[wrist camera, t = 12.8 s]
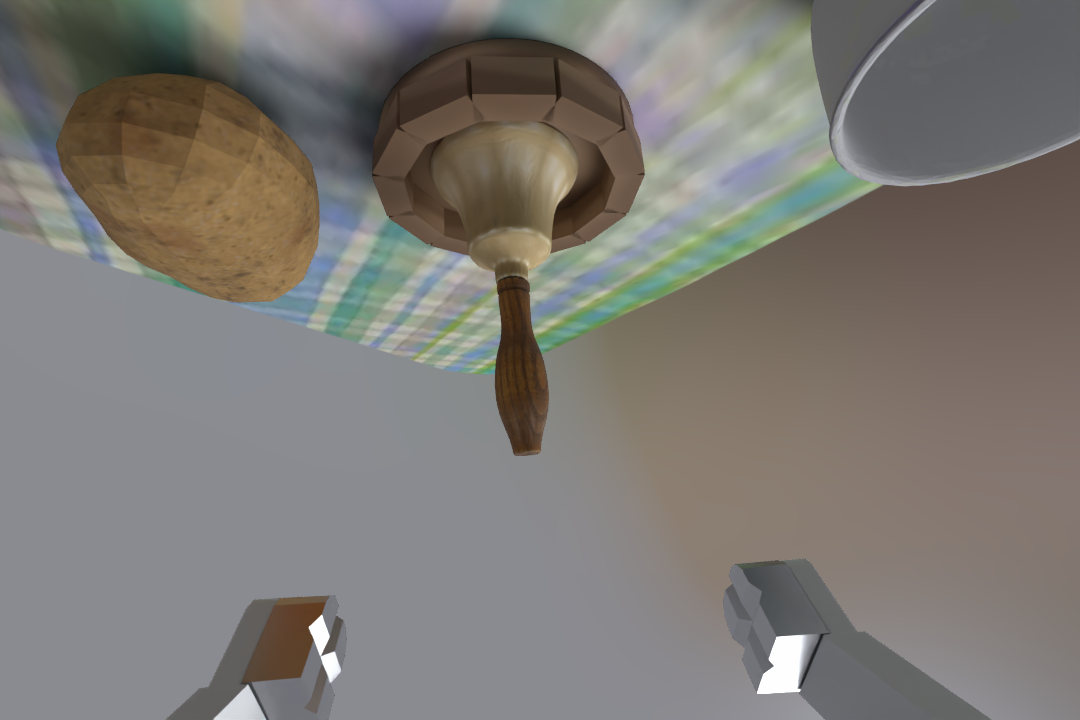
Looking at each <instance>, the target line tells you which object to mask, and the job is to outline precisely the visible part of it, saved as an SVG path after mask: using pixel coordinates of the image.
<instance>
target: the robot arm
mask: <svg viewBox="0 0 1080 720" xmlns="http://www.w3.org/2000/svg"><path fill="white" fill-rule="evenodd" d="M729 577H730V579H731V582H732V585H731V586H730V587H728V588H727V589H726V590H725V594H724V599H723V605H724V614H725V618H726V622H727V625H728V628H729V630H730V633H731V635H732V637H733V639H735V640H736V641H737V642H738V643H739V644H741V645H742V646H743V647H744V648H745V649H744V653H743V657H742V660H743V663H744V665H745V668H746V670H747V672H748V674H749V677H750V679H751V681H752V683H753V685H754V688H755V690H756V693H757V694H761V693H777V692H792V691H800V692H799V694H800V695H801V696H802V697H803V698H804V699H805V700H806V701H807V702H808V703H809V704H810V705H811V706H812V707H813V708H814V709H815V710H816V711H817V712H818V713H819V714H820V715H821V716H822V717H823V718H824V719H825V720H991V719H990V718H988V717H987V716H986V715H984V714H982V713H981V712H980V711H978V710H977V709H976V708H974V707H973V706H971V705H970V704H968V703H967V702H965V701H964V700H963V699H961V698H960V697H958V696H957V695H955V694H954V693H953V692H951V691H950V690H948V689H947V688H945V687H944V686H942V685H941V684H939V683H938V682H937V681H935V680H934V679H932V678H931V677H930V676H928V675H927V674H925V673H924V672H922V671H921V670H919V669H918V668H917V667H915V666H914V665H912V664H911V663H909V662H908V661H907V660H905V659H904V658H902V657H901V656H899V655H898V654H896V653H895V652H894V651H892V650H891V649H889V648H888V647H886V646H885V645H883V644H882V643H881V642H879V641H878V640H876V639H875V638H873V637H872V636H870V635H869V634H868V633H866V632H857V630H856V629H855V627H854V626H853V624H852V623H851V622H850V620H849V618H848V617H847V616H846V614H845V613H844V611H843V610H842V608H841V607H840V605H839V604H838V602H837V601H836V599H835V598H834V596H833V595H832V593H831V592H830V590H829V589H828V587H827V586H826V584H825V583H824V582H823V580H822V579H821V577H820V576H819V574H818V573H817V571H816V570H815V568H814V567H813V565H812V564H811V563H810V562H809V561H808V560H806V559H795V560H785V561H779V560H775V561H764V562H753V563H743V564H735V565H733V566H732V567H731V570H730V574H729ZM338 607H339V605H338V602H337V600H336V597H335V595H331V596H330V595H329V596H312V597H311V596H310V597H292V598H273V599H259V600H253V601H252V603H251V604H250V605H249V606H248V607H247V608H246V610H245V612H244V614H243V616H242V618H241V620H240V622H239V624H238V626H237V628H236V631H235V633H234V635H233V637H232V639H231V641H230V643H229V645H228V647H227V649H226V651H225V653H224V655H223V658H222V660H221V662H220V664H219V666H218V668H217V670H216V672H215V674H214V676H213V678H212V680H211V682H210V685H209V687H205V688H199V689H198V690H197V691H196V692H195V693H194V694H193V695H192V696H191V697H190V698H189V699H187V700H186V701H185V702H184V703H183V704H182V705H181V706H180V707H179V708H178V709H177V710H176V711H174V712H173V713H172V714H171V715H170V716H169V717H168V718H167V719H166V720H328V718H329V715H330V711H331V707H332V704H333V700H334V696H335V695H334V692H333V689H332V686H331V682H332V681H333V680H334V678H335V677H336V676H337V675H338V674H339V673H340V672H341V670H342V666H343V661H344V657H345V650H346V640H347V639H346V628H345V624H344V621H343V620H342V619H341V618H339V617H338V616H336V613H337V610H338Z"/></svg>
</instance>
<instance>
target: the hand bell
mask: <svg viewBox="0 0 1080 720" xmlns="http://www.w3.org/2000/svg"><path fill="white" fill-rule="evenodd" d="M578 169H579V163H578V156H577V153H576V150H575V148H574V147H573V145H572V143H571V142H570V140H569V139H568V138H567V137H566V136H565V135H563V134H562V133H561V132H560V131H558V130H557V129H555V128H553V127H551V126H549V125H548V124H546V123H543V122H531V121H480V122H477V123H475V124H473V125H470V126H468V127H466V128H463V129H461V130H459V131H457V132H454V133H452V134H450V135H447V136H445V137H444V138H443V139H442V140H441V141H440V143H439V144H438V145H437V147H436V148H435V150H434V152H433V155H432V157H431V162H430V173H431V177H432V180H433V183H434V185H435V187H436V188H437V190H438V191H439V193H440V194H441V196H442V197H443V198H444V199H445V200H446V201H447V202H448V203H449V204H451V205H452V206H453V207H455V208H456V209H457V211H458V213H459V215H460V217H461V219H462V223H463V226H464V230H465V234H466V239H467V245H468V252H469V255H470V257H471V259H472V260H473V261H474V262H475V263H476V264H477V265H478V266H480V267H481V268H483V269H486V270H489V271H492V272H495V276H496V284H497V292H498V295H499V307H500V315H501V329H502V330H501V340H500V345H499V349H498V353H497V359H496V368H495V391H496V401H497V406H498V410H499V414H500V416H501V419H502V422H503V424H504V427H505V429H506V431H507V434H508V436H509V439H510V442H511V445H512V449H513V453H514V455H516V456H527V455H534V454H539V453H540V451H541V441H542V435H543V430H544V426H545V422H546V418H547V412H548V402H549V392H548V381H547V375H546V370H545V365H544V361H543V357H542V354H541V351H540V349H539V347H538V344H537V342H536V340H535V337H534V334H533V330H532V325H531V313H530V294H529V292H530V285H529V282H527V281H528V270H530V269H533V268H535V267H537V266H539V265H540V264H542V263H543V262H544V261H545V260H546V259H547V257H548V256H549V254H550V251H551V245H552V226H553V219H554V214H555V210H556V207H557V205H558V203H559V202H560V201H561V200H562V199H563V198H564V197H565V196H566V195H567V194H568V193H569V191H570V190H571V188H572V186H573V184H574V182H575V180H576V177H577V174H578Z"/></svg>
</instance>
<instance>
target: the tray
mask: <svg viewBox="0 0 1080 720" xmlns="http://www.w3.org/2000/svg"><path fill="white" fill-rule="evenodd" d="M480 121H531V122H543V123H546V124H548V125H549V126H551V127H553V128H555V129H557V130H558V131H560V132H561V133H562V134H563V135H565V136H566V137H567V138H568V139H569V140H570V142H571V143H572V145H573V147H574V148H575V150H576V153H577V156H578V163H579V169H578V174H577V177H576V180H575V182H574V184H573V186H572V188H571V190H570V191H569V193H568V194H567V195H566V196H565V197H564V198H563V199H562V200H561V201H560V202H559V203H558V205H557V207H556V210H555V214H554V219H553V226H552V245H551V251H550V253H553V252H557V251H560V250H564V249H567V248H571V247H574V246H578V245H581V244H584V243H586V241H588V242H589V241H591V240H592V239H593V238H595V237H596V236H598V235H599V234H600V233H602V232H603V231H605V230H606V229H607V228H609V227H610V226H612V225H613V224H615V223H616V222H617V221H619V220H620V219H622V218H623V217H624V216H626V213H628V212H629V210H630V208H631V206H632V203H633V201H634V199H635V196H636V194H637V192H638V189H639V187H640V185H641V182H642V180H643V178H644V175H645V174H644V172H645V171H644V164H643V157H642V150H641V143H640V139H639V137H638V134H637V132H636V129H635V127H634V122H633V115H632V112H631V108H630V105H629V102H628V100H627V98H626V96H625V94H624V93H623V91H622V89H621V88H620V87H619V86H618V84H617V83H616V82H615V80H614V79H613V78H612V77H611V76H610V75H609V74H608V73H606V72H605V71H604V70H603V69H602V68H601V67H599V66H598V65H596V64H595V63H593V62H592V61H590V60H589V59H587V58H585V57H583V56H581V55H579V54H577V53H575V52H573V51H571V50H568V49H565V48H562V47H559V46H556V45H553V44H549V43H544V42H539V41H534V40H524V39H489V40H483V41H476V42H470V43H466V44H463V45H459V46H456V47H452V48H449V49H447V50H444V51H442V52H440V53H438V54H435V55H433V56H431V57H429V58H428V59H426V60H424V61H423V62H421V63H419V64H418V65H416V66H415V67H414V68H412V69H411V70H410V71H409V72H408V73H406V74H405V75H404V76H403V77H402V78H401V79H400V80H399V82H398V83H397V84H396V85H395V86H394V87H393V89H392V90H391V92H390V94H389V95H388V97H387V99H386V100H385V103H384V105H383V108H382V111H381V113H380V120H379V126H378V132H377V134H376V136H375V138H374V141H373V168H372V177H373V180H374V183H375V185H376V188H377V191H378V193H379V196H380V198H381V201H382V204H383V206H384V209H385V212H386V214H387V216H389V218H390V219H391V220H393V221H394V222H395V223H397V224H398V225H400V226H401V227H403V228H404V229H406V230H407V231H409V232H410V233H411V234H413V235H414V236H416V237H417V238H419V239H420V240H422V241H423V242H424V243H426V244H430V243H431V246H433V247H437V248H441V249H445V250H449V251H453V252H457V253H461V254H465V255H469V252H468V245H467V239H466V234H465V230H464V226H463V223H462V219H461V217H460V215H459V213H458V211H457V209H456V208H455V207H453V206H452V205H451V204H449V203H448V202H447V201H446V200H445V199H444V198H443V197H442V196H441V194H440V193H439V191H438V190H437V188H436V187H435V185H434V183H433V180H432V177H431V173H430V162H431V157H432V155H433V152H434V150H435V148H436V147H437V145H438V144H439V143H440V141H441V140H442V139H443V138H444V137H445V136H447V135H450V134H452V133H454V132H457V131H459V130H461V129H463V128H466V127H468V126H470V125H473V124H475V123H477V122H480ZM469 256H470V255H469Z"/></svg>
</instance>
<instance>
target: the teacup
mask: <svg viewBox="0 0 1080 720" xmlns="http://www.w3.org/2000/svg"><path fill="white" fill-rule="evenodd" d="M811 39H812V49H813V56H814V62H815V67H816V73H817V77H818V81H819V86H820V90H821V94H822V99H823V102H824V106H825V110H826V113H827V117H828V120H829V124H830V129H829V140H830V145H831V149H832V152H833V154H834V156H835V158H836V161H837V162H838V163H839V164H840V165H841V166H842V167H843V168H844V169H845V170H846V171H847V172H848V173H850V174H852V175H853V176H856V177H858V178H860V179H862V180H865V181H869V182H872V183H878V184H885V185H897V186H913V185H927V184H938V183H945V182H952V181H955V180H960V179H966V178H971V177H974V176H978V175H982V174H985V173H989V172H993V171H996V170H1000V169H1003V168H1006V167H1009V166H1011V165H1013V164H1017V163H1020V162H1023V161H1026V160H1029V159H1032V158H1035V157H1037V156H1040V155H1043V154H1045V153H1048V152H1050V151H1052V150H1055V149H1058V148H1060V147H1062V146H1065V145H1067V144H1070V143H1072V142H1074V141H1076V140H1078V139H1080V0H814V1H813V6H812V17H811Z"/></svg>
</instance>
